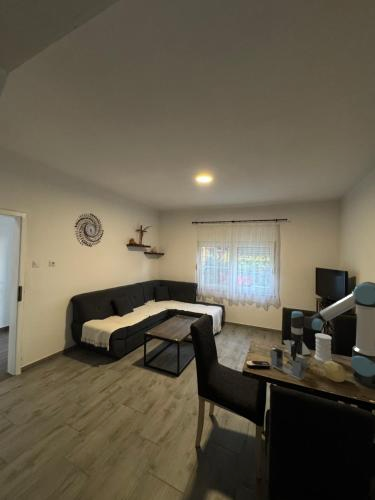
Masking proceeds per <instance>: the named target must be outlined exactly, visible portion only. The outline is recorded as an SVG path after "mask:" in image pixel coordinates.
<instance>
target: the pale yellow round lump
mask: <svg viewBox="0 0 375 500" xmlns="http://www.w3.org/2000/svg"><path fill="white" fill-rule="evenodd" d="M322 363H323V364H322V366H323V370H324V373H325V377H326V378H327V379H329V380H330V381H332V382H335V383H342V382H345V381H346V380H347V372H346V369H345V367H343V366H342V365H341V364H339V363H338V362H335V361H333V360H332V361H326V362H325V363H324V362H322Z"/></svg>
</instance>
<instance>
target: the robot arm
mask: <svg viewBox="0 0 375 500" xmlns="http://www.w3.org/2000/svg"><path fill="white" fill-rule="evenodd" d="M354 307H356V308H357V309H356V310H357V311H356V331H355V332H356V337H355V345H354V346H353V347H352V350H351V351H352V353H351V354H352V355H351V359H350V366H351V367H352V369H353V372H352V379H353V380H354V381H355V382H356V383H358V384H360V385H363V386H364V387H367V388H370V389H375V282H372V281H365V282H361V283H359V284H357V285H356V286H355V288H354V289H353V290H351V293H349V294H348V295H345V296H344V297H343V298H341V299H339V300H338V301H336V302H334V303H332V304H330V305H329V306H327V307H326V308H324V309H321V310H320V311H318V312H316V313H315V314H313V315H312V316H306V315H304V313H303V312H302V311H298V310H294V311H291V317H290V318H291V321H290V322H291V323H290V324H291V325H290V328H291V329H290V330H291V333H290V337H291V339H292V340H293V343H290V344H291V356H292V357H293V360H295V361H297V357H296V354H299V355H302V343H304V339H303V338H304V337H303V334H304V331H303V329H304V328H308V329H310V330H311V329H312V330H313V331H314V330H315V331H322V329H323V326H324V324H325V323H326V322H329V321H330V320H332V319H334V318H336V317H337V316H340V315H341V314H343V313H345V312H347V311H349V310H351V309H353V308H354ZM302 356H303V355H302Z"/></svg>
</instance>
